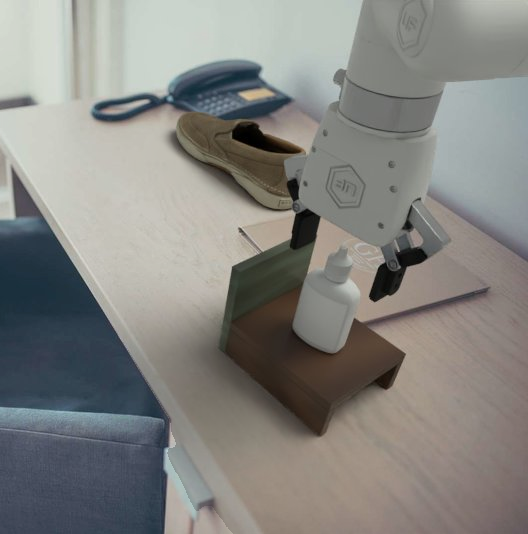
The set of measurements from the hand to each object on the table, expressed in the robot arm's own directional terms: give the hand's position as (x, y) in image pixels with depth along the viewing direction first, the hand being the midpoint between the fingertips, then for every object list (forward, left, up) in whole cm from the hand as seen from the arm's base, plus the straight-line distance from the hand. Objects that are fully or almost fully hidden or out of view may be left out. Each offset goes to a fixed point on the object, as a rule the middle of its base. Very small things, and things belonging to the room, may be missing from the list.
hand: (339, 268), depth 63 cm
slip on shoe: (+38, -25, -15) cm, 48 cm away
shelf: (0, 0, -15) cm, 15 cm away
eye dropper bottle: (0, 0, -10) cm, 10 cm away
